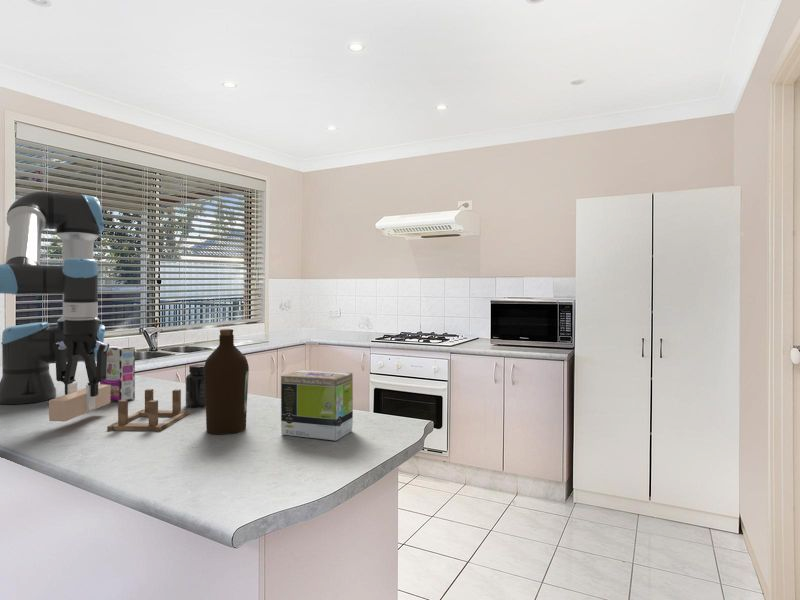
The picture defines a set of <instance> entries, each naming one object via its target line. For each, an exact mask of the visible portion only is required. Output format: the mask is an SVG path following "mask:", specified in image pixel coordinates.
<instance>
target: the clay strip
mask: <svg viewBox="0 0 800 600" xmlns="http://www.w3.org/2000/svg"><path fill="white" fill-rule="evenodd" d="M108 404H111V400H110V385H100V384H98V395H97V396H95V408H93V409H91V410H86V387H84V388H82V389H79V390H78V389H77V391H76V392H73V393H70V394H67V395H65V394H64V395H61V396H57V397H54V398H52V399H49V401H48V414H49V415H48V418H49V419H48V421H50V422H68V421H70V420H73V419H74V418H77V417H80V416H82V415H84V414H87V413H89V412H91V411H94V410H97V409H99V408H101V407H104V406H106V405H108Z"/></svg>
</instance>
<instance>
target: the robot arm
mask: <svg viewBox="0 0 800 600" xmlns="http://www.w3.org/2000/svg"><path fill="white" fill-rule="evenodd" d="M102 211H103V210H102V206H101V203H100V200H99V199H98V198H97V197H96V196H92V195H86V194H83V193H80V194H79V193H67V192H53V191H47V190H45V191H44V190H42V191H39V190H38V191H34V192H31V193H27V194H25V195H23V196H21V197H20V198H18V199H16V200H15V201H14V202H13V203H11V205H10V206H9V208H8V209H7V213H6V223H7V225H8V227H9V231H8V239H7V246H6V254H5V255H6V256H5V261H4V262H5V263H0V294H4V295H5V294H7V295H8V294H9V295H37V294H39V295H40V294H41V295H43V294H44V295H45V294H46V295H47V294H48V295H55V294H56V295H60V294H61V295H62V315H61V316H60V317H59V318H58V319H57V321H56V322H57V323H56V324H57V325H56V326H55V325H54V326H53V325H52V326H50V323H49V322H48V321H42V322H41V321H40V322H31V323H25V324H19V325H12V326H9V327H6V328H4V330H2V336H1V337H2V338H1V343H0V344H1V347H2V348H1V349H2V350H1V351H2V352H1V353H2V354H1V355H2V357H1V358H2V359H1V360H2V371H1V372H2V376H1V379H0V405H22V404H31V403H33V404H34V403H39V402H44V401H48V400H52V399H55V398H57V388H56V387H55V386H56V385H55V383H54V381H53V378H52V375H51V373H50V364H55V374H56V375H55V376H56V377H55V378H56V379H55V380H56V381H57V382H61V383H63V385H64V395H67V394H70V393H73V392H76V391H78V382H76V378H75V377H76V373H77V368H78V363H79V362H81V363H82V362H83V363H84V365H85V370H86V375H87V379H88V382H87V384H85V388H86V410H91V409H93V408H95V396H97V395H98V385H99V384H100V382H101V381H104V380H106V367H107V351H108V348H109V346H110V343H108V342H106V343H104V341H105V331H106V326H105V325H104V324H100V321H101V320H100V318H99V303H98V301H99V300H98V295H99V294H98V293H99V291H98V290H99V289H98V285H99V284H98V283H99V275H98V274H99V268H98V261H97V260H96V259H94V254H95V253H94V252H95V251H94V242H95V241H96V240H97V239H98V238H99V236H100V235H99V233H103V232H104V230H105V227H104V218H103V217H104V216H103V213H102ZM44 229H48V230H56V232H55V233H56V237H58V238H59V239H60V240H61V246H62V247H61V251H62V253H61V254H62V255H61V256H62V258H61V259H62V260H61V262H62V265H45V264H43V265H41V257H42V256H41V254H42V232H43V231H44Z"/></svg>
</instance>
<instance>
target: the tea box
mask: <svg viewBox="0 0 800 600" xmlns="http://www.w3.org/2000/svg"><path fill="white" fill-rule="evenodd" d="M280 377H281V378H280V413H281V414H280V422H281V423H280V428H281V429H280V431H281V432H280V433H281V435H284V436H292V437H302V438H311V439H320V440H327V441H328V440H329V441H334V442H335V441H338V440H340V439H341V438H344V437H345V436H346V435H348V434H349V433H351V432H352V431H353V424H354V423H353V422H354V421H353V419H354V418H353V415H354V414H353V412H354V410H353V409H354V408H353V407H354V406H353V405H354V403H353V400H354V398H353V397H354V396H353V393H354V391H353V390H354V389H353V385H354V383H353V381H354V380H353V378H354V377H353V373H352V372H341V371H340V372H339V371H323V370H321V371H320V370H308V369H307V370H306V369H305V370H304V369H300V370H297V371H294V372H290V373H287V374H283V375H280Z"/></svg>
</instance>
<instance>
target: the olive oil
mask: <svg viewBox="0 0 800 600" xmlns="http://www.w3.org/2000/svg"><path fill="white" fill-rule="evenodd" d="M234 337H235V335H234V329H231V328H225V329H219V338H218V339H219V344H218V346H217V347H216V348H215V349H214V350H213V352H211V354H209V355H208V357H206V358H207V359H206V360H205V362H204V384H205V402H206V407H205V421H206V423H205V424H206V425H205V427H206V432H208V433H209V434H212V435H230V434H236V433H240V432H243V431H244V430H246V428H247V411H248V410H247V407H248V389H249V375H250V373H249V371H250V370H249V369H250V367H249V363H248V359H247V357H246V356H245V355H244V354H243V352H241V351H240V350H239V349H238V347H236V346H235V344H234V341H235V340H234V339H235V338H234Z"/></svg>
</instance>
